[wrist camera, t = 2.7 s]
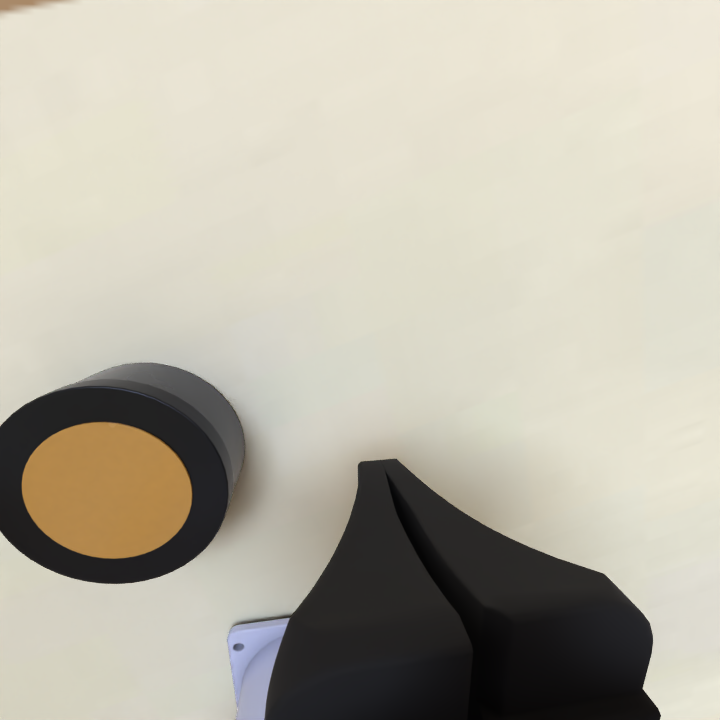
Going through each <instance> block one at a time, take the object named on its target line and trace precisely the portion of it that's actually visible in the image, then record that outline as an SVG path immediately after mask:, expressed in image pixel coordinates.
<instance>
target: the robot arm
mask: <svg viewBox="0 0 720 720" xmlns="http://www.w3.org/2000/svg"><path fill="white" fill-rule="evenodd" d="M227 642H228V648H229V655H230V662H231V669H232V676H233V682H234V689H235V696H236V703H237V715H236V720H660V717H661V715H660V712H659V710H658V708H657V707H656V705H655V704H654V703H653V702H652V700H651V699H650V698H649V697H648V695H647V694H646V693H645V691H644V690H643V689H642V688H643V684H644V680H645V677H646V673H647V669H648V665H649V661H650V658H651V654H652V645H653V635H652V631H651V626H650V623H649V621H648V620H647V619H646V617H645V616H644V615H643V613H642V612H641V611H640V610H639V609H638V608H637V607H636V606H635V605H634V604H633V603H632V602H631V601H630V600H629V599H628V598H627V597H626V596H625V595H624V594H623V593H622V592H621V591H620V589H619V588H618V587H617V586H616V585H615V584H614V583H613V582H612V581H611V580H610V579H609V578H608V577H607V576H606V575H605V574H603V573H600V572H597V571H594V570H591V569H588V568H585V567H582V566H579V565H576V564H573V563H570V562H567V561H564V560H561V559H558V558H555V557H553V556H550V555H548V554H545V553H543V552H540V551H538V550H535V549H533V548H530V547H528V546H526V545H523V544H521V543H519V542H517V541H515V540H512V539H510V538H508V537H506V536H504V535H502V534H500V533H498V532H496V531H494V530H492V529H491V528H489V527H487V526H485V525H483V524H481V523H480V522H478V521H476V520H475V519H473V518H472V517H470V516H468V515H467V514H465V513H463V512H462V511H460V510H459V509H457V508H456V507H454V506H453V505H451V504H450V503H449V502H447V501H446V500H445V499H443V498H442V497H440V496H439V495H438V494H437V493H435V492H434V491H433V490H431V489H430V488H429V487H428V486H427V485H425V484H424V483H423V482H422V481H421V480H419V479H418V478H417V477H416V476H415V475H414V474H413V473H411V472H410V471H409V470H408V469H407V468H406V467H405V466H404V465H403V464H402V463H400V462H399V461H398V460H397V459H387V460H375V461H363V462H360V463H359V464H358V489H357V494H356V499H355V502H354V506H353V509H352V512H351V515H350V518H349V521H348V524H347V526H346V529H345V531H344V534H343V536H342V538H341V540H340V542H339V544H338V546H337V548H336V550H335V552H334V554H333V556H332V558H331V560H330V562H329V563H328V565H327V567H326V568H325V570H324V571H323V573H322V575H321V576H320V578H319V579H318V581H317V582H316V584H315V586H314V587H313V588H312V590H311V591H310V593H309V594H308V595H307V597H306V598H305V599H304V600H303V602H302V603H301V604H300V606H299V607H298V608H297V610H296V611H295V612H294V613H293V615H292V616H291V617H290V618H284V619H277V620H269V621H262V622H255V623H247V624H240V625H236V626H234V627H232V628H231V629H230V631H229V634H228V639H227Z"/></svg>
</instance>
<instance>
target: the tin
mask: <svg viewBox="0 0 720 720" xmlns="http://www.w3.org/2000/svg"><path fill="white" fill-rule="evenodd" d="M244 454H245V443H244V436H243V431H242V428H241V425H240V422H239V420H238V418H237V416H236V414H235V412H234V410H233V409H232V407H231V406H230V404H229V403H228V401H227V400H226V399H225V398H224V397H223V396H222V395H221V394H220V393H219V392H218V391H217V390H216V389H215V388H214V387H212V386H211V385H210V384H208V383H207V382H205V381H204V380H202V379H201V378H199V377H197V376H195V375H193V374H191V373H189V372H187V371H184V370H181V369H179V368H175V367H171V366H167V365H162V364H154V363H133V364H124V365H120V366H116V367H112V368H109V369H107V370H104V371H101V372H99V373H97V374H94V375H92V376H90V377H88V378H85V379H83V380H81V381H79V382H76V383H74V384H70V385H68V386H65V387H62V388H59V389H57V390H54V391H52V392H50V393H47V394H45V395H43V396H41V397H38V398H37V399H35V400H33V401H31V402H29V403H27V404H25V405H24V406H22V407H21V408H20V409H18V410H17V411H16V412H14V413H13V414H12V415H11V416H10V417H9V418H8V419H7V420H6V421H5V422H4V423H3V424H2V425H1V426H0V531H1V532H2V534H3V535H4V536H5V537H6V539H7V540H8V541H9V542H10V543H11V544H12V545H13V546H14V547H16V548H17V549H18V550H19V551H20V552H21V553H23V554H24V555H25V556H27V557H28V558H29V559H31V560H33V561H34V562H36V563H38V564H39V565H41V566H43V567H45V568H47V569H49V570H51V571H54V572H56V573H58V574H61V575H64V576H67V577H70V578H74V579H78V580H83V581H87V582H95V583H104V584H123V583H134V582H140V581H146V580H149V579H153V578H157V577H160V576H163V575H165V574H168V573H170V572H173V571H174V570H176V569H178V568H180V567H182V566H184V565H185V564H187V563H188V562H190V561H191V560H193V559H194V558H195V557H196V556H198V555H199V554H200V553H201V552H202V551H203V550H204V549H205V548H206V547H207V546H208V545H209V543H210V542H211V541H212V540H213V539H214V537H215V535H216V534H217V532H218V531H219V529H220V527H221V525H222V522H223V520H224V518H225V515H226V512H227V510H228V507H229V504H230V500H231V497H232V493H233V490H234V488H235V485H236V482H237V480H238V477H239V475H240V472H241V469H242V465H243V462H244Z"/></svg>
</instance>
